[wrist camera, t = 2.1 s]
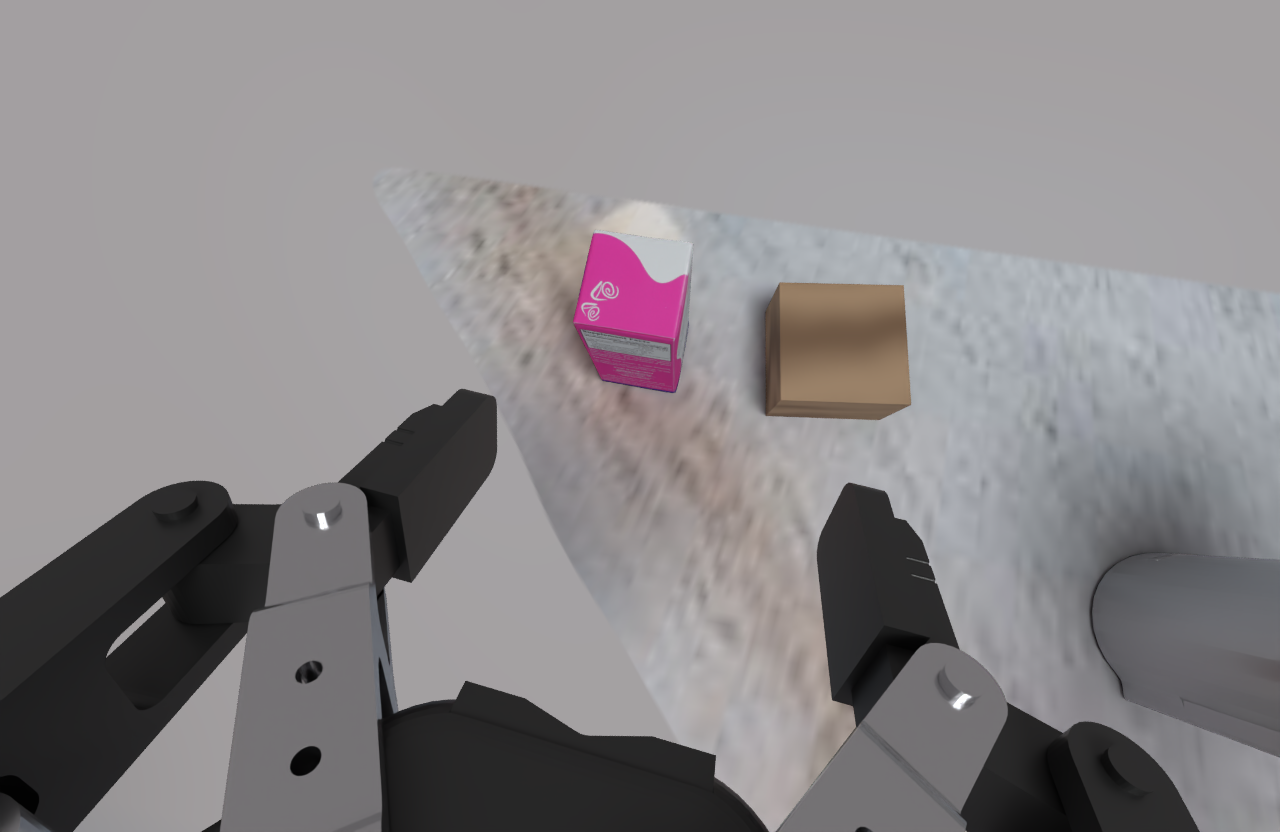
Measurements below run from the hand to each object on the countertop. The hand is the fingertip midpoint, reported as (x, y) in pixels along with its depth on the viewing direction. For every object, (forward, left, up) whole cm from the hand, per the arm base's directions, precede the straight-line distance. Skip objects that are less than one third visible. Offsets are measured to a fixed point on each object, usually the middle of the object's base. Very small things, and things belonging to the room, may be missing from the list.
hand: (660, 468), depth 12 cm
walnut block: (+11, -11, -25) cm, 30 cm away
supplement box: (+11, +2, -25) cm, 28 cm away
